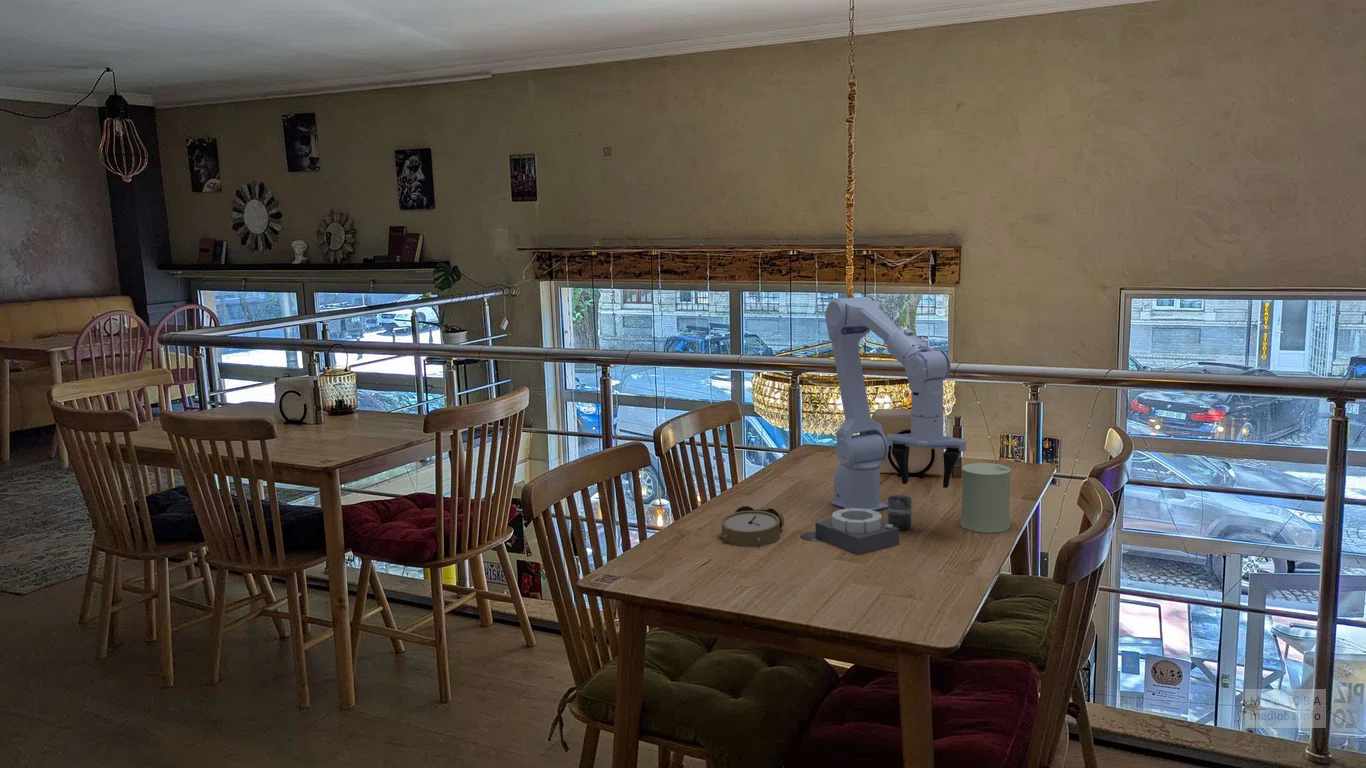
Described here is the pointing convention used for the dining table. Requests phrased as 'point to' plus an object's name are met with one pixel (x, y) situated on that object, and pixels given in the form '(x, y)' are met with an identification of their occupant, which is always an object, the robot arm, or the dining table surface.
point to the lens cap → (809, 536)
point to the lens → (900, 512)
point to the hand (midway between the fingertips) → (925, 484)
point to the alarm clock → (752, 526)
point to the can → (985, 497)
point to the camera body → (857, 531)
